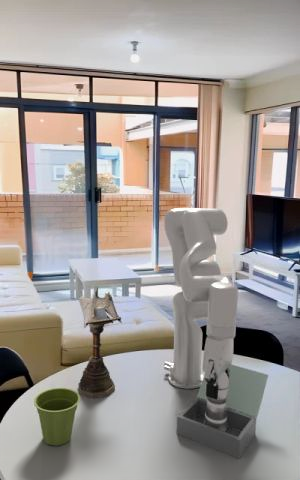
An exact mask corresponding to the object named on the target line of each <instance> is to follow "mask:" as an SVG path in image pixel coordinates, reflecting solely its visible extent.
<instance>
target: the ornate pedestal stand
mask: <svg viewBox="0 0 300 480" xmlns="http://www.w3.org/2000/svg"><path fill="white" fill-rule="evenodd" d="M78 302H79V305H80V308H81V313H82V315H83V329H85V328H87V326H88V327H89V333H91V334H92V344H91V346H92V355H91V357H89V358H88V363H87V365H86V367H85V368H84V370H83V371H82V376H81V378H80V381H79V382H78V390H79V393H80V394H79V395H82V396H85V397H88V398H90V399H96V398H103V397H108V396H109V395H111V394H112V393H113V392H114V391H115V390H116V384H115V383H114V381H113V379H112V378H111V375H110V372H109V369H108V368H107V366H106V364H105V362H104V357H103V356H102V355H101V349H100V348H101V346H102V344H101V335H102V333H103V332H104V326H105V325H110V324H113V323H114V322H116V321H118V322H119V323H121V324H122V316H119V315H118V313H117V309H116V306H115V304H114V300H113V297H112V294H111V293H110V291H108V293H107V292H105V293H104V296H103V297H100V296H99V286H98V284H96V285H95V286H93V293H92V297H91V298H87V297H86V295H80V296H79V297H78Z"/></svg>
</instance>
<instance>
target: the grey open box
mask: <svg viewBox="0 0 300 480" xmlns="http://www.w3.org/2000/svg"><path fill="white" fill-rule="evenodd" d="M206 405H207V401H206V400H203V399H200V398H198V397H196V398H195V399H194V400H193V401H191V403H190V404H189V405H188V406H186V408H184V410H182V411H181V412H180V413H179V414H178V415H177V417H176V434H177V435H180V436H182V437H185V438H188V439H190V440H192V441H194V442H197V443H200V444H201V445H205V446H207V447H209V448H212V449H215V450H216V451H219V452H222V453H224V454H226V455H229V456H231V457H234V458H236V459H240V458H241V457H242V455H243V454H244V452H245V451H246V449H247V448H248V446H249V445H250V443H251V442H252V440H253V439H254V437H255V436H256V429H257V426H256V425H257V418H256V417H253V416H250V415H247V414H244V413H241V412H238V411H235V410H232V409H230V408H227V407H226V411H227V420H228V425H227V427H228V428H230V429H233V430H235V431H238V432H240V433H239V434H238V436H236V435H233V434H231V433H228V432H226V431H225V432H223V431H220V430H218V429H215V428H213V427H210V426H207V425H205V424H204V423H201V422H198V421H196V419H197V418H198V417H200V418H203V419H204V415H205V412H206Z"/></svg>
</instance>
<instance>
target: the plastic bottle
mask: <svg viewBox="0 0 300 480" xmlns="http://www.w3.org/2000/svg"><path fill="white" fill-rule="evenodd" d="M212 372H214V373H216V372H215V370H213V371H212ZM211 378H213V379H214V380H215V375H211ZM206 384H207V383H206ZM217 385H219V386H218V399H217V400H215V399H212V398H210V397H207V405H206V412H205V415H204V418H203V424H205V425H207V426H210V427H213V428H215V429H218V430H220V431H223V432H226V431H227V429H228V428H227V425H228V420H227V411H226V408H227V407H226V403H227V395H228V390H229V385H230V381H229V377H228V376H227V374H226V373H225V371H224V372H223V373H222V374H221V375H219V378H218V383H217Z"/></svg>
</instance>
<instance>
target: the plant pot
mask: <svg viewBox="0 0 300 480" xmlns="http://www.w3.org/2000/svg"><path fill="white" fill-rule="evenodd" d="M80 395H81V394H79V392H78V391H76V390H73V389H71V388H66V387H53V388H50V389H46V390H43V391H41V392H40V393H38V394H37V395H36V396H35V398H34V399H33V405H34V407H35V408H36V409H37V414H38V416H39V422H40V423H39V424H40V428H41V434H42V440H43V442H44V443H45V444H46V445H49V446H51V445H52V446H54V447H55V446H57V447H58V446H62V445H64V444H66V443H68V442H69V441H70V439H71V436H72V432H73V428H74V427H73V426H74V421H75V417H76V411H77V408H78V405H79V403H80V401H81V396H80Z"/></svg>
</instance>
